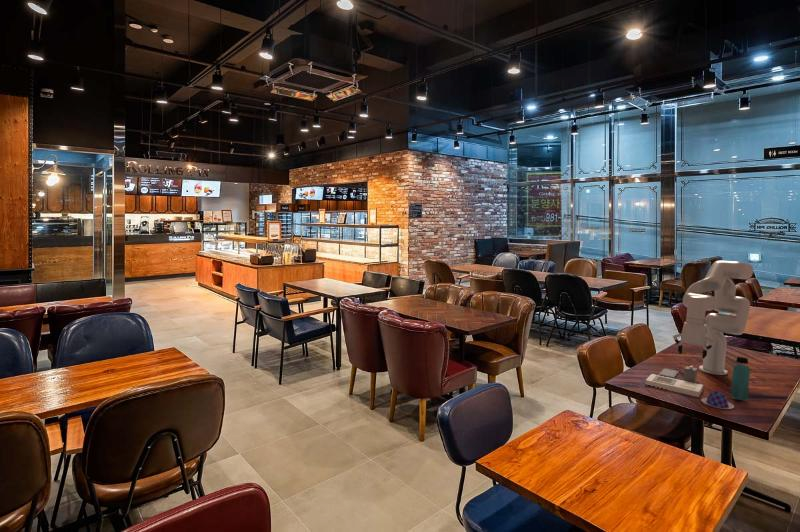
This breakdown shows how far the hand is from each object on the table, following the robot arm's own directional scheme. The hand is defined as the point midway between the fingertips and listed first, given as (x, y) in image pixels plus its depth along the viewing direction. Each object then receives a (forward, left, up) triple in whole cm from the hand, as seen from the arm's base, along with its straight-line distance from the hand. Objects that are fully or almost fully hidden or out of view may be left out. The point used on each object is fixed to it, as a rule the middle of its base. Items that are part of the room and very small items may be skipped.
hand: (691, 355), depth 219 cm
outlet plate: (+10, -5, -15) cm, 19 cm away
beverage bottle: (+8, +20, -15) cm, 26 cm away
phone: (-10, -11, -15) cm, 21 cm away
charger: (-1, 0, -15) cm, 15 cm away
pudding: (+20, +14, -15) cm, 28 cm away
